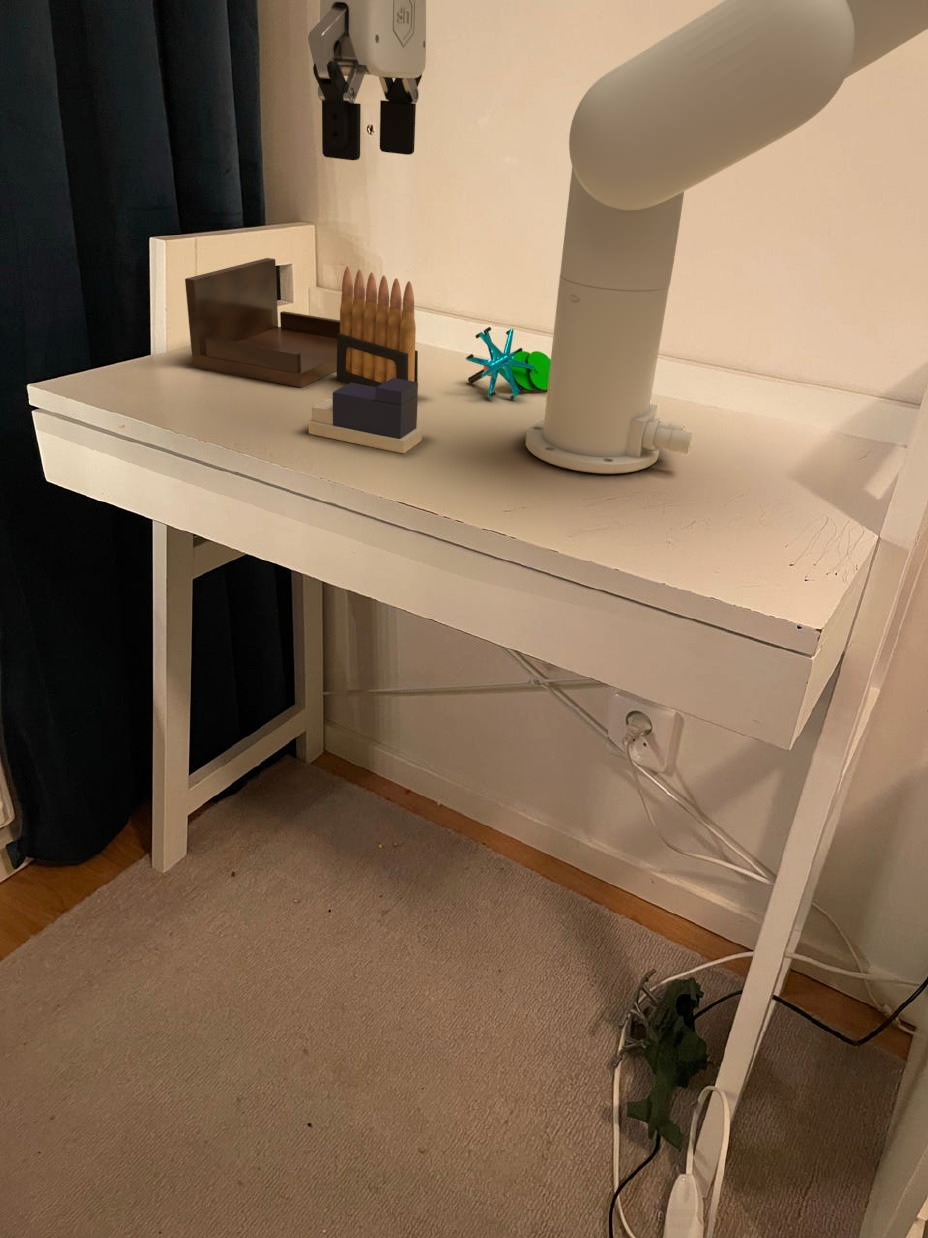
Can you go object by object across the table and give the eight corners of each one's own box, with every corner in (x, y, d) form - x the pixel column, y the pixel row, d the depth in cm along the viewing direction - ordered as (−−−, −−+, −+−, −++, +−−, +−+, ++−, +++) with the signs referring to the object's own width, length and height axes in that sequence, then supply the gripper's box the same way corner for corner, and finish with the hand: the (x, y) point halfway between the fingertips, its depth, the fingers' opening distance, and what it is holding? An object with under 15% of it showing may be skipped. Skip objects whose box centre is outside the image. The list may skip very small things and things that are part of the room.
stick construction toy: (482, 385, 97) (477, 314, 98) (443, 407, 102) (439, 340, 103) (567, 404, 104) (561, 338, 105) (526, 424, 109) (521, 360, 110)
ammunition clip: (418, 399, 99) (422, 281, 93) (406, 402, 98) (409, 283, 92) (347, 376, 105) (347, 264, 99) (335, 379, 103) (334, 265, 97)
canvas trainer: (422, 440, 88) (424, 382, 85) (403, 453, 85) (405, 393, 82) (329, 421, 91) (328, 364, 88) (308, 433, 88) (306, 375, 85)
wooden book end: (270, 337, 117) (266, 257, 112) (369, 354, 113) (370, 272, 108) (192, 366, 104) (184, 278, 99) (301, 387, 100) (298, 296, 95)
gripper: (361, -119, 62) (359, 166, 71) (465, -79, 76) (452, 155, 85) (266, -120, 64) (275, 155, 73) (383, -81, 78) (379, 147, 87)
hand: (370, 155), depth 79 cm, fingers open, 9 cm apart
